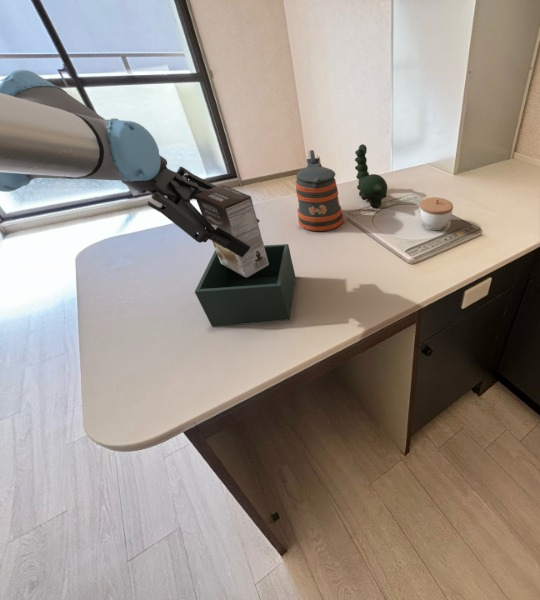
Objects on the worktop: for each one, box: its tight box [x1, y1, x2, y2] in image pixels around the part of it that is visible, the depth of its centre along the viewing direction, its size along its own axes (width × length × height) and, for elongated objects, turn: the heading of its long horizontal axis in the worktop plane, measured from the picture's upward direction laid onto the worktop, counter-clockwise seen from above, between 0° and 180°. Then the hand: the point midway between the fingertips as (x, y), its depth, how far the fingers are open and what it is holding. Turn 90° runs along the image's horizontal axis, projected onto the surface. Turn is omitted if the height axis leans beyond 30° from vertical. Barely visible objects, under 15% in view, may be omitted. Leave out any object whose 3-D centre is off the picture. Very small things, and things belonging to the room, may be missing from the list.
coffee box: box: [194, 184, 269, 277], centre depth 67 cm, size 9×6×16 cm
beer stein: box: [295, 149, 344, 232], centre depth 105 cm, size 19×15×20 cm
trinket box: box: [419, 196, 454, 231], centre depth 107 cm, size 11×11×9 cm
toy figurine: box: [354, 143, 388, 208], centre depth 118 cm, size 9×19×25 cm
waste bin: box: [194, 243, 296, 328], centre depth 75 cm, size 17×17×10 cm
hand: (251, 237), depth 68 cm, fingers closed on coffee box, 10 cm apart
